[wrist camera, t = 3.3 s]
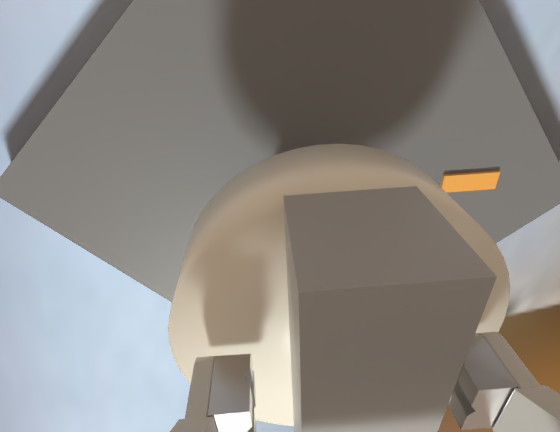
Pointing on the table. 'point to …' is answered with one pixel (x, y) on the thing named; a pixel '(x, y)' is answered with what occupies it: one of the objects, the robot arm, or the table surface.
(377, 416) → the cap
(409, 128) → the lock base
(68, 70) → the table surface
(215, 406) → the robot arm
